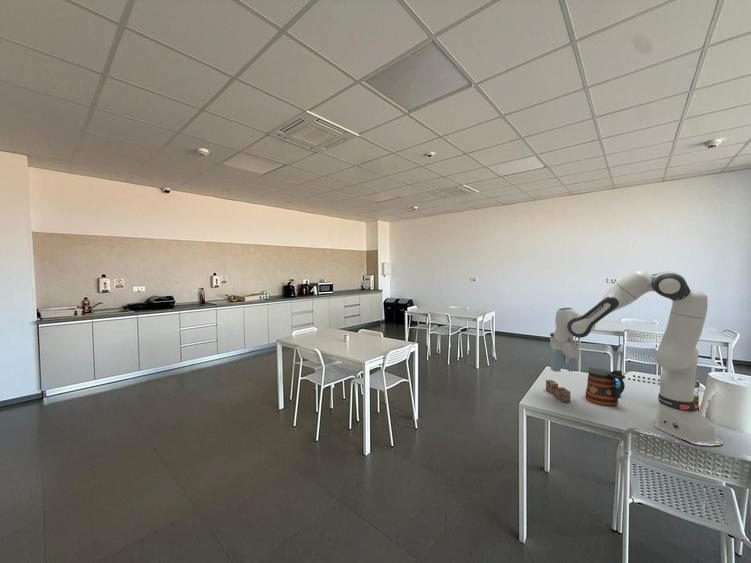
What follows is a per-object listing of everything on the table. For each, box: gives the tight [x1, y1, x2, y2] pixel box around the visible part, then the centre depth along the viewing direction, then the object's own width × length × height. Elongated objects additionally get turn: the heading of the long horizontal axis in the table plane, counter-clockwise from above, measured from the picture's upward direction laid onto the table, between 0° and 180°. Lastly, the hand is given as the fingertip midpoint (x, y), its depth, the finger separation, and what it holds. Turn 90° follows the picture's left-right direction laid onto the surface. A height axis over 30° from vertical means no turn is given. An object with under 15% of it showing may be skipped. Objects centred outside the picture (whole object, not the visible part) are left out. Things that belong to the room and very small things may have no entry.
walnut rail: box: [545, 379, 571, 404], centre depth 177 cm, size 18×4×6 cm, turn 179°
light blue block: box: [550, 349, 577, 373], centre depth 170 cm, size 12×4×11 cm, turn 90°
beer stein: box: [585, 367, 626, 407], centre depth 167 cm, size 19×15×20 cm
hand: (563, 361), depth 170 cm, fingers closed on light blue block, 3 cm apart
